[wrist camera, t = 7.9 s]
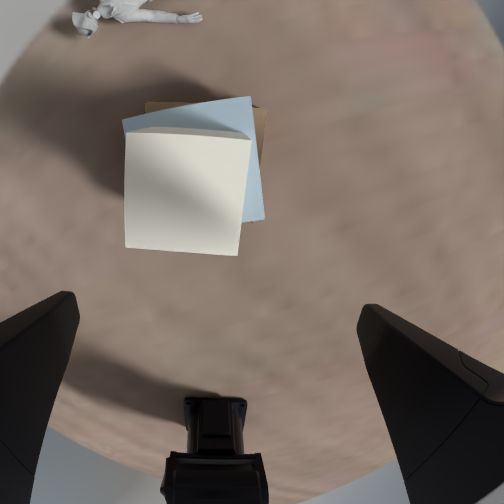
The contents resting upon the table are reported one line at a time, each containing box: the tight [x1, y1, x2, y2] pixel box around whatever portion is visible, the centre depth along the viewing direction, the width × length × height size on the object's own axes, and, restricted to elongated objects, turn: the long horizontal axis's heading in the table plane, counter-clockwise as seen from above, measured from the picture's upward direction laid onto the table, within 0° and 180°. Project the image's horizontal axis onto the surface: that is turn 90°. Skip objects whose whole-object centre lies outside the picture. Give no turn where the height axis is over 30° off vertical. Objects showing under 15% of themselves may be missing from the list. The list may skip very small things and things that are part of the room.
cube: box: [124, 127, 252, 256], centre depth 13 cm, size 4×4×4 cm
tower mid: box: [122, 96, 265, 223], centre depth 16 cm, size 6×6×2 cm
